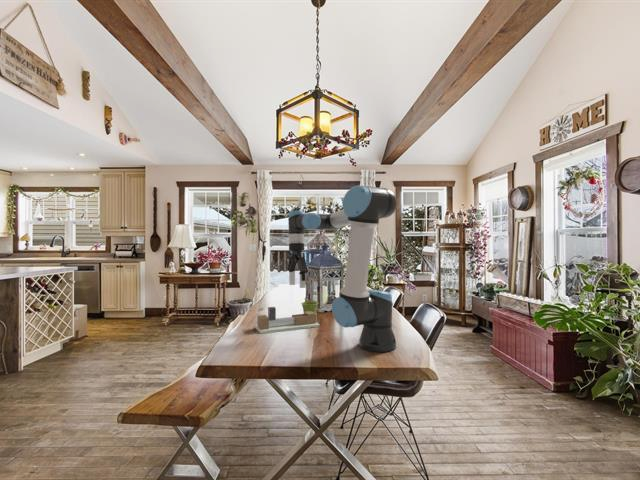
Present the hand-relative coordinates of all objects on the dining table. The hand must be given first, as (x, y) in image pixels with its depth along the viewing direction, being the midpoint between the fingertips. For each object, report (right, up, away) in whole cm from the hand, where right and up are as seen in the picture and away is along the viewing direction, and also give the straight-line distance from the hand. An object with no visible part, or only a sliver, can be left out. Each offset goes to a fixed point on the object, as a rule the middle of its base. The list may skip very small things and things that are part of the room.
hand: (297, 286), depth 166 cm
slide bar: (-9, -20, +3) cm, 22 cm away
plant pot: (+5, -21, +22) cm, 31 cm away
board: (-5, -21, +4) cm, 22 cm away
